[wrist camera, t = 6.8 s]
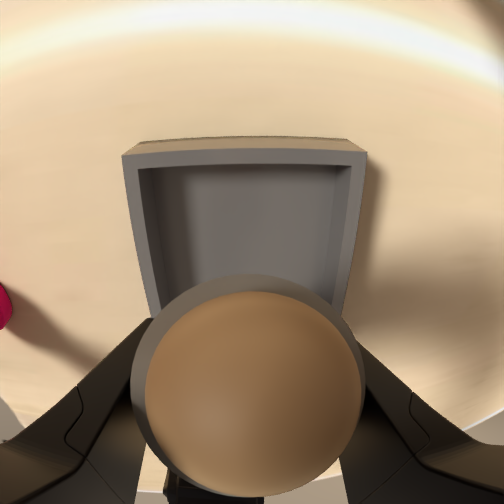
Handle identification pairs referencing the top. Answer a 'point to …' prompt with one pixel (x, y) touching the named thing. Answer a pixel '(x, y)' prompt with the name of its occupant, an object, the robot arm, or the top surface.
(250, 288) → the shaker
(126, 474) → the robot arm
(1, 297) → the pepper mill
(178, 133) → the top surface
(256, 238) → the dish
